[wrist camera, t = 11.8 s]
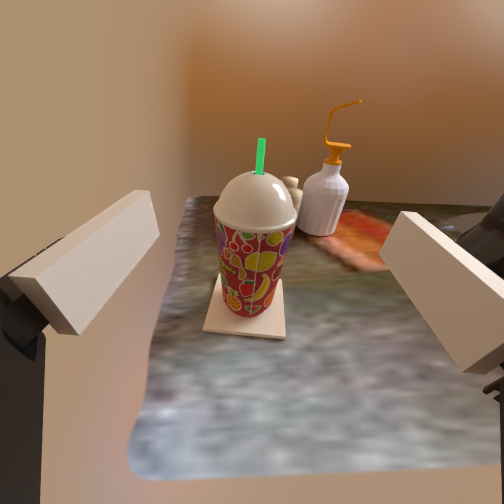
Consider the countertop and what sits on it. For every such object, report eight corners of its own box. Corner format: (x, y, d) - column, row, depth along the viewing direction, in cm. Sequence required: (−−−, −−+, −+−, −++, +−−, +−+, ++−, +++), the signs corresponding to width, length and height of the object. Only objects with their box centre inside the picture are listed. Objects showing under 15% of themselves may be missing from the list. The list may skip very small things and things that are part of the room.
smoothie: (213, 283, 31) (206, 129, 19) (266, 276, 33) (288, 133, 22) (221, 332, 25) (217, 146, 13) (286, 320, 27) (333, 150, 15)
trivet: (281, 282, 33) (281, 279, 33) (285, 339, 25) (285, 336, 25) (219, 275, 33) (218, 273, 33) (203, 331, 25) (202, 328, 25)
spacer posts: (289, 217, 53) (297, 177, 47) (293, 241, 44) (304, 195, 38) (247, 213, 53) (250, 173, 47) (243, 236, 44) (246, 189, 38)
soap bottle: (334, 240, 45) (385, 101, 31) (293, 232, 47) (322, 96, 33) (334, 222, 52) (375, 102, 38) (297, 215, 54) (323, 98, 40)
